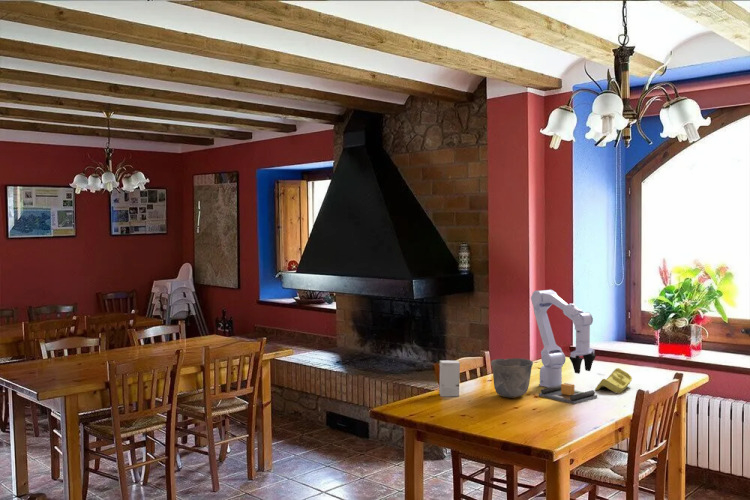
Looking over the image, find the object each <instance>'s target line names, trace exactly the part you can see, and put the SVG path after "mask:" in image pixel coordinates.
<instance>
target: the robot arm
mask: <svg viewBox="0 0 750 500" xmlns="http://www.w3.org/2000/svg"><path fill="white" fill-rule="evenodd" d="M530 300H531V303H532V307H533V313H534V316H535V320H536V323H537V327H538V328H537V329H538V330H539V334H540V337H541V341H542V344H543V349H542V350H541V351H540V355H541V356H540V357H541V360H540V361H541V363H542V366H541V367H540V369H539V384H538V386H541V387H544V388H548V387H552V386H557V385H561V384H563V381H562V380H563V378H562V376H563V374H562V372H563V371H562V369H563V367H564V365H565V364H566V355H565V353H564V352H563V350H562V347H560V346H559V345H558V344H557V343H556V340H555V337H554V332H553V330H552V326H551V322H550V319H549V316H548V313H547V312H548V310H549V308H550V307H551V306H552V305H554V306H556V307H557V308H559V309H560V310H561V311H562V313H563V314H564V316H566V317H568V319H570V320H571V321H572V322H573V324H574V329H575V350H573V351H570V356H569V360H570V362H571V364H572V367H573V371H574V373H575V374H577V375H578V374H579V375H580V373H581V365H582V362H583V361H584V370H585V371H586V372H591V369H592V367H593V363H594V360H595V358H596V356H597V355H596V354H595V350H596V349H595V348H590V347H591V346H590V345H591V344H590V339H591V337H590V336H591V335H590V334H591V328H590V327H591V325H592V324H593V322H594V319H593V316H592V314H591V313H590V312H588V311H586V312H584V311H583V309H580V308H578V307H577V306H576V304H574V303H569V304H568V302H566V301H565V300H563V298H561V297H560V296H559V295H558V293H557V292H556V291H554V290H553V289H543V290H535V291H533V292H532V295H531V296H530ZM582 357H583V358H582Z"/></svg>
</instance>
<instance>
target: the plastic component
mask: <svg viewBox="0 0 750 500" xmlns="http://www.w3.org/2000/svg"><path fill="white" fill-rule="evenodd" d="M632 380H633V376H631V374H629V373H628V372H627V371H625V370H623V369H621V368H619V367H617V368H614V370H613V371H612V373H610V375H608V377H607V378H602V379H601V381H599V383H598V384H597V386H596V387H595V390H596V391H599V390H601V388H603V387H605V388H607V389H608V390H610V391H612V392H613V393H616V394H622V392H623V391H624V390H625V389H627V388H628V387H629V385H630V383H631V382H632Z"/></svg>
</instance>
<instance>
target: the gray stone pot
mask: <svg viewBox="0 0 750 500" xmlns="http://www.w3.org/2000/svg"><path fill="white" fill-rule="evenodd" d="M533 363H534V361H532V360H531V359H526V358H521V357H520V358H516V357H513V358H498V359H497V358H496V359H492V360H491V361H490V364H491V368H492V369H491V370H492V375H493V376H492V378H493V388H494V389H495V392H496V393H497V394H498V395H499V396H500V397H504V398H510V399H511V398H517V397H521V396H523V395H525V394H526V393H527V392H528V390H529V387H530V381H531V373H532V368H533Z"/></svg>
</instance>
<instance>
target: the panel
mask: <svg viewBox="0 0 750 500" xmlns="http://www.w3.org/2000/svg"><path fill="white" fill-rule="evenodd" d="M583 392H584V391H579V390H576V389H574V394H573V395H575V394H579V393H583ZM570 396H572V395H566V394H562V393H561V389H560V390H556V391H552V392H548V393H544V394H543V393H541V392H539V393H538V397H541V398H546V399H551V400H555V401H559V402H563V403H567V404H571V405H576V404H579V403H580V404H581V403H584V402H587V401H591V400H594V399H598V395H597V394H594V395H591V396H587V397H584V398H580V399H576V400H571V399H570Z"/></svg>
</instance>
